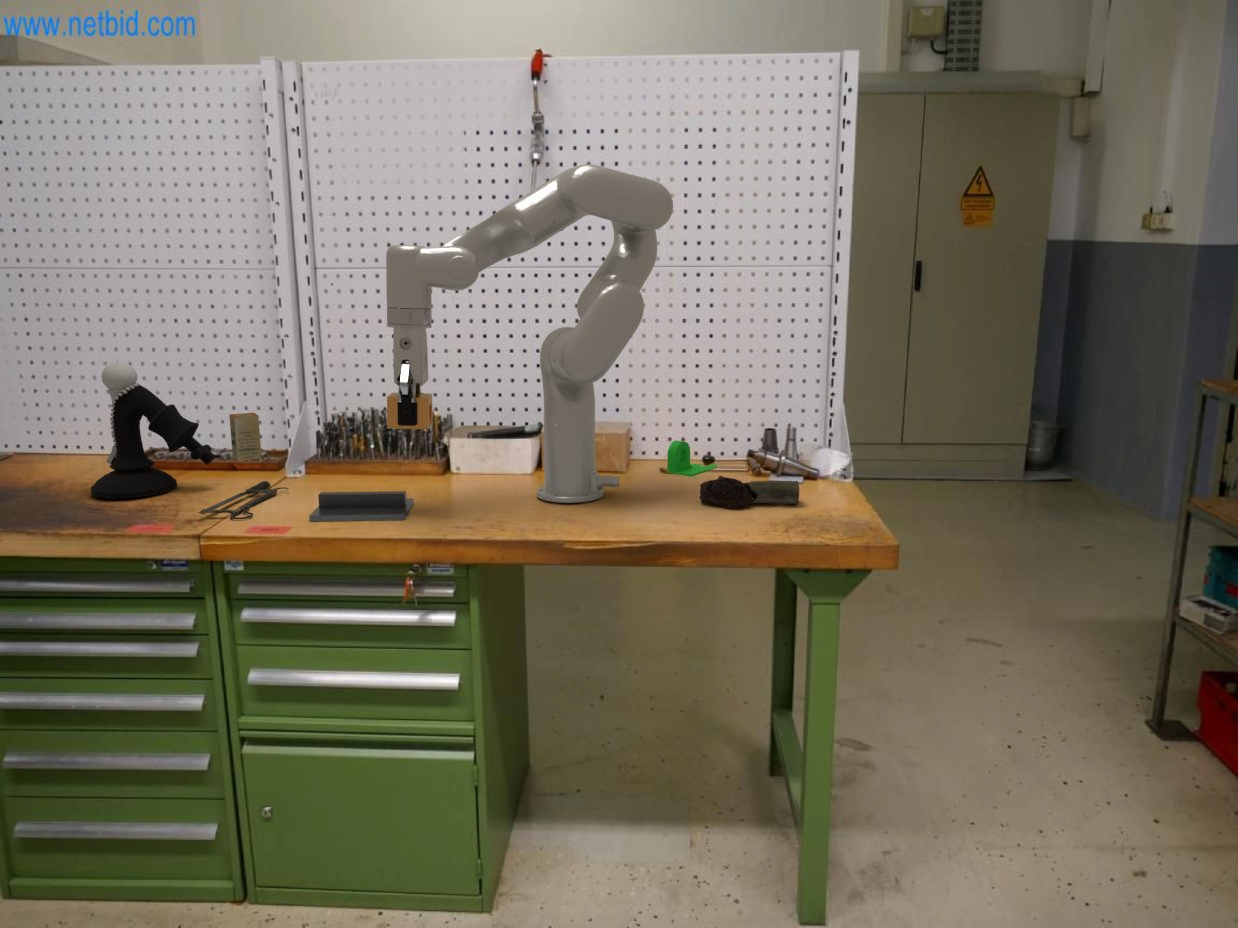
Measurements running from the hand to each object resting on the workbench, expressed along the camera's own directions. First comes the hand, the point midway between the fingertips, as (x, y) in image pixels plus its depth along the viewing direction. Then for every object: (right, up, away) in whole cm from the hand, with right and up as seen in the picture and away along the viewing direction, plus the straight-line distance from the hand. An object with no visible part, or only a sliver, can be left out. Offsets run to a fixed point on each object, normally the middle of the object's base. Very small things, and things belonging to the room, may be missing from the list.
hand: (410, 421), depth 166 cm
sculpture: (-54, -13, +20) cm, 59 cm away
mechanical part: (+53, -10, +33) cm, 63 cm away
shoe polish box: (-44, -9, +39) cm, 59 cm away
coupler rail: (-9, -16, +3) cm, 19 cm away
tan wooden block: (0, -1, 0) cm, 1 cm away
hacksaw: (-36, -15, +10) cm, 40 cm away
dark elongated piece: (+66, -18, +7) cm, 69 cm away
